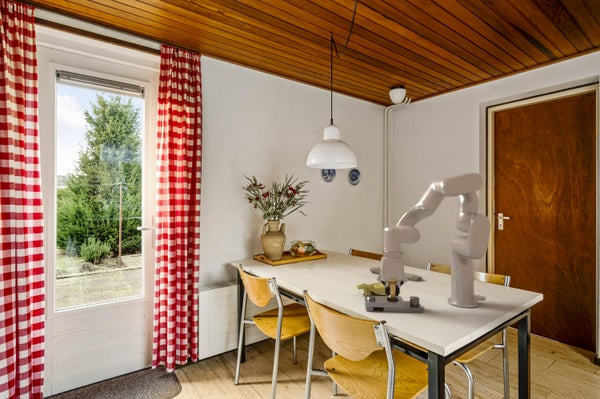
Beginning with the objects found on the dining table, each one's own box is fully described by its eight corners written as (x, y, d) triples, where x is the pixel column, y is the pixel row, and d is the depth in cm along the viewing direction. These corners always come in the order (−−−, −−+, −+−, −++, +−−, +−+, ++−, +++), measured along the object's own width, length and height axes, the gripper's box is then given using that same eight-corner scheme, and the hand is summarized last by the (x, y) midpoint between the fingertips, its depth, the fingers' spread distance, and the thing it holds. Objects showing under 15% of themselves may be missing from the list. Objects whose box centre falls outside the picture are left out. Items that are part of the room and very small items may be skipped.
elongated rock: (417, 285, 185) (425, 283, 192) (417, 276, 185) (425, 274, 192) (366, 272, 211) (374, 270, 217) (366, 264, 210) (375, 262, 217)
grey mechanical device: (417, 305, 148) (417, 294, 148) (423, 312, 139) (423, 301, 139) (364, 304, 150) (364, 293, 150) (366, 311, 141) (366, 300, 141)
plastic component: (376, 283, 178) (390, 278, 171) (380, 296, 175) (395, 292, 168) (352, 287, 165) (366, 282, 158) (356, 302, 162) (371, 297, 156)
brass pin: (397, 300, 147) (397, 276, 147) (400, 304, 141) (399, 279, 141) (385, 300, 148) (384, 276, 147) (387, 304, 142) (386, 279, 142)
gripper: (409, 253, 147) (409, 293, 147) (372, 253, 149) (372, 292, 149) (413, 256, 139) (413, 298, 140) (374, 256, 141) (374, 297, 142)
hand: (392, 295), depth 144 cm, fingers closed on brass pin, 3 cm apart
